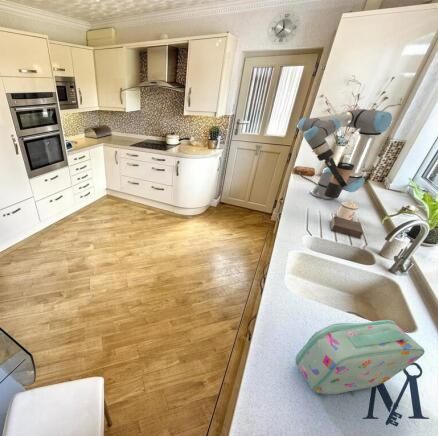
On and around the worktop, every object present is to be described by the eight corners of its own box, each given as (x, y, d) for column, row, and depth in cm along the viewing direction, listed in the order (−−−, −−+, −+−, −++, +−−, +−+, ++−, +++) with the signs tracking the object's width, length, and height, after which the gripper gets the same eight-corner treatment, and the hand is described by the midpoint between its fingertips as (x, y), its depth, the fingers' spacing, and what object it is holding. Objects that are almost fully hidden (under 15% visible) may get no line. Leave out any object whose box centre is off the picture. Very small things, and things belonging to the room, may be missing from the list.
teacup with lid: (350, 222, 152) (359, 206, 146) (334, 216, 157) (342, 201, 152) (353, 216, 160) (361, 200, 154) (337, 211, 165) (345, 196, 159)
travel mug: (336, 195, 144) (352, 163, 134) (339, 199, 138) (356, 166, 128) (322, 192, 147) (337, 161, 137) (324, 196, 141) (340, 164, 131)
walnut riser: (330, 221, 152) (333, 215, 150) (357, 228, 146) (360, 222, 144) (331, 230, 142) (334, 225, 140) (359, 238, 135) (363, 232, 133)
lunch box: (359, 351, 76) (397, 308, 65) (392, 386, 68) (442, 343, 57) (286, 362, 72) (314, 318, 61) (311, 401, 63) (348, 357, 53)
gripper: (316, 152, 146) (335, 182, 147) (315, 159, 131) (337, 192, 132) (330, 144, 141) (350, 176, 142) (330, 151, 126) (353, 186, 127)
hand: (343, 184), depth 137 cm, fingers closed on travel mug, 8 cm apart
